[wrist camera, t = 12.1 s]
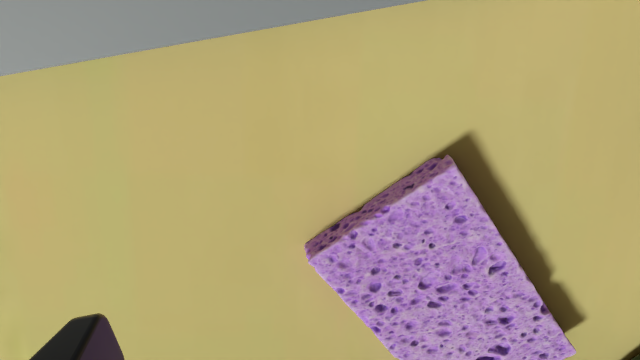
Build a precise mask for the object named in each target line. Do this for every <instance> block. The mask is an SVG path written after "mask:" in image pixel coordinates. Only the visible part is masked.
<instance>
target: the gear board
mask: <svg viewBox="0 0 640 360" xmlns="http://www.w3.org/2000/svg"><path fill="white" fill-rule="evenodd" d="M419 1H425V0H0V76H4V75H9V74H15V73H21V72H26V71H32V70H37V69H43V68H49V67H54V66H60V65H66V64H71V63H77V62H82V61H88V60H94V59H99V58H105V57H110V56H116V55H122V54H127V53H133V52H139V51H144V50H150V49H155V48H161V47H167V46H172V45H178V44H183V43H189V42H195V41H200V40H206V39H211V38H217V37H223V36H228V35H234V34H240V33H245V32H251V31H256V30H262V29H268V28H273V27H279V26H284V25H290V24H296V23H301V22H307V21H313V20H318V19H324V18H329V17H335V16H341V15H346V14H352V13H357V12H363V11H369V10H374V9H380V8H386V7H391V6H397V5H402V4H408V3H414V2H419Z"/></svg>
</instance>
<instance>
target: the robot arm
mask: <svg viewBox="0 0 640 360" xmlns="http://www.w3.org/2000/svg"><path fill="white" fill-rule="evenodd" d="M29 360H124V356H123V353H122V351H121V349H120V346H119V344H118V342H117V340H116V337H115V335H114V333H113V330H112V328H111V326H110V324H109V321H108V320H107V318H106V317H105V316H104V315H102V314H99V313H97V314H92V315H87V316H82V317H77V318H74V319H72V320H70V321H69V322H68V323H67V324H66V325H65V326H64V327H63V328H62V329H61V330H60V331H59V332H58V333H57V334H56V335H55V336H53V337H52V338H51V339H50V340H49V341H48V342H47V343H46V344H45V345H44V346H43V347H42V348H41V349H40V350H39V351H38V352H37V353H36V354H35V355H34V356H33V357H32V358H31V359H29Z"/></svg>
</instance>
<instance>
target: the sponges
mask: <svg viewBox="0 0 640 360" xmlns="http://www.w3.org/2000/svg"><path fill="white" fill-rule="evenodd" d="M304 247H305V251H306V257H307V258H308V263H309V264H310V265H312V266H314V268H315V270H316V272H317V273H318V274H319V275H320V276H321V277H322V278H323V279H324V280H325V281H326V282H327V283H328V284H329V286H330V287H332V288H333V289H334V290H335V291H336V292H337V294H338V295H339V296H340V297H341V298H342V300H343V301H344V302H345V303H346V304H347V306H349V307H350V308H351V309H352V310H353V311H354V312H355V313H356V314H357V316H358V317H359V318H360V319H361V320H363V322H364V323H365V324H366V326H367V327H370V328H371V329H372V331H373V332H374V334H375V335H376V337H377V338H378V339H379V340H380V341H381V342H382V343H383V344H384V346H385V347H386V348H387V349H388V350H389V351H390V353H391V354H392V355H393V356H394V357H396V358H398V359H400V360H563V359H565V358H566V357H570V356H572V355H574V354H575V353H576V350H575V348H574V347H573V346H572V344H571V343H570V342H569V340H568V339H567V338H566V336H565V335H564V333H563V331H562V329H561V328H560V326H559V325H558V323H557V322H556V320H555V319H554V318H553V316H552V314H551V312H550V311H549V310H548V308H547V306H546V305H545V303H544V302H543V300H542V298H541V297H540V295H539V294H538V292H537V291H536V289H535V287H534V285H533V284H532V282H531V281H530V280H529V278H528V277H527V275H526V274H525V272H524V270H523V268H522V267H521V266H520V264H519V262H518V260H517V259H516V257H515V256H514V254H513V253H512V251H511V250H510V248H509V247H508V245H507V243H506V242H505V240H504V239H503V238H502V236H501V234H500V233H499V231H498V230H497V228H496V226H495V225H494V223H493V221H492V220H491V219H490V217H489V215H488V214H487V213H486V211H485V209H484V208H483V206H482V204H481V203H480V201H479V200H478V198H477V196H476V195H475V193H474V192H473V190H472V189H471V187H470V186H469V184H468V182H467V181H466V179H465V178H464V176H463V174H462V173H461V172H460V170H459V169H458V167H457V165H456V164H455V162H454V160H453V159H452V158H451V157H450V156H449V155H446V156H445V157H444V159H441V158H433V159H430V160H428V161H427V162H425V163H424V164H422V165H421V166H420V167H418V168H417V169H415V170H414V171H413V172H412V173H411V174H410V175H409V176H406V177H404V178H402V179H401V180H399V181H398V182H396V183H395V184H393V185H392V186H390V187H389V188H387V189H386V190H385V191H384V192H382V193H380V194H379V195H377V196H376V197H374V198H373V199H372V200H371V201H369V202H368V203H366V204H365V205H364V206H363V208H362V209H361V210H360V211H359V212H356V213H353V214H351V215H348V216H347V217H345V218H343V219H342V220H340V221H339V222H338V223H336V224H335V225H334V226H333V227H331V228H329V229H327V230H325V231H324V232H322V233H321V234H319V235H318V236H316V237H315V238H313V239H312V240H310V241H309V242H307V243H305V246H304Z"/></svg>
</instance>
